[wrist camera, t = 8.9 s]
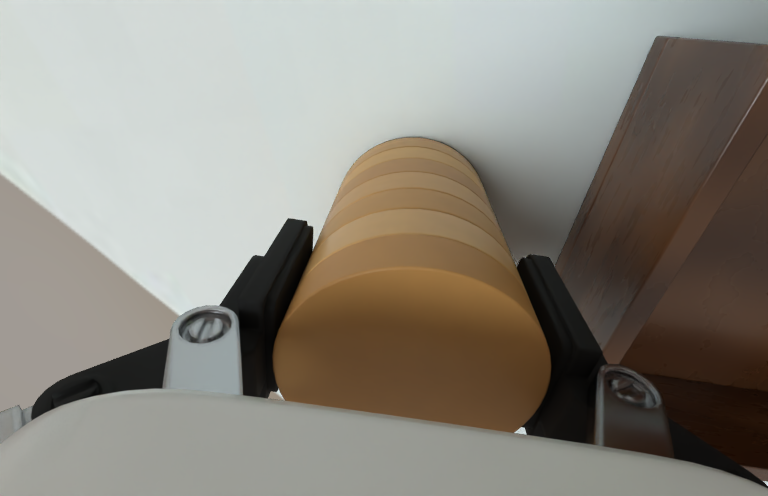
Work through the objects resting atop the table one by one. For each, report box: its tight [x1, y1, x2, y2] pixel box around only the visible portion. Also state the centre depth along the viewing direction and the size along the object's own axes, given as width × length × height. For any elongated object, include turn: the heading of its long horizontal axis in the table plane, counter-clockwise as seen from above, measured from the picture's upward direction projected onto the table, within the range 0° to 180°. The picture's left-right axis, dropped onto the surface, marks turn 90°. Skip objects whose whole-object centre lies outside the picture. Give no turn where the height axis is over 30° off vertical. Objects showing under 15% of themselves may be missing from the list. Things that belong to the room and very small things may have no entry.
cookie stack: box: [272, 138, 551, 433], centre depth 13 cm, size 6×6×9 cm
